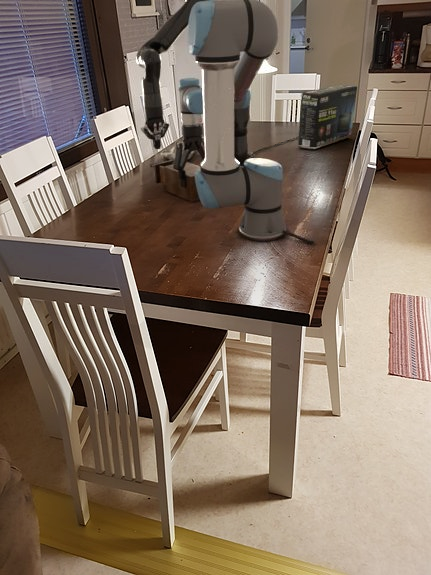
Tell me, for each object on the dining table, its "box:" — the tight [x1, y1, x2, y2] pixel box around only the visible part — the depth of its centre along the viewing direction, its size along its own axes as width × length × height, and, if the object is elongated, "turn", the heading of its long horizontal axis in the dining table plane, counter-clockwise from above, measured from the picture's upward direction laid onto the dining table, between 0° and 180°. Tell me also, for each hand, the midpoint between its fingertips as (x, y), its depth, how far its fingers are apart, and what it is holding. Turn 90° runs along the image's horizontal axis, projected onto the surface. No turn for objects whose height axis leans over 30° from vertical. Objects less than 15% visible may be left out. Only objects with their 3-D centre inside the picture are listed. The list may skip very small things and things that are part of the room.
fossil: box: [160, 144, 199, 161], centre depth 229 cm, size 18×11×15 cm
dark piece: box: [149, 160, 174, 186], centre depth 190 cm, size 22×9×8 cm, turn 40°
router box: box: [297, 84, 358, 151], centre depth 238 cm, size 36×11×27 cm, turn 134°
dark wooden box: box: [164, 161, 200, 203], centre depth 182 cm, size 18×10×10 cm, turn 40°
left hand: (157, 148), depth 191 cm, fingers closed
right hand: (195, 183), depth 179 cm, fingers closed on dark wooden box, 10 cm apart
